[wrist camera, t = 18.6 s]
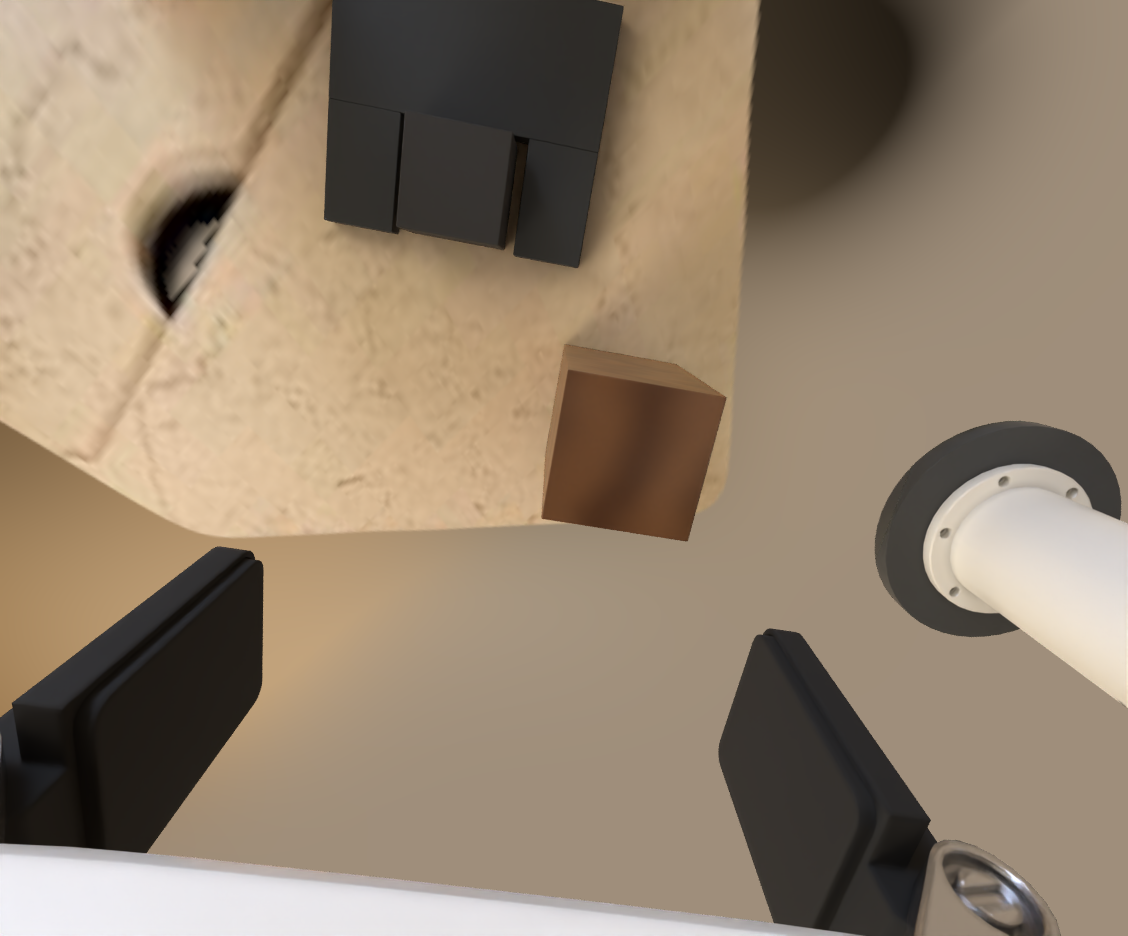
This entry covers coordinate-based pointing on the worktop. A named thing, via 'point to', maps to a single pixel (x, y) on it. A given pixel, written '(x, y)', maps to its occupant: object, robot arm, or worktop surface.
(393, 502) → the worktop surface
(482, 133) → the black squat block
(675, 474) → the brown wooden block
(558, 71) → the black u-shaped block
